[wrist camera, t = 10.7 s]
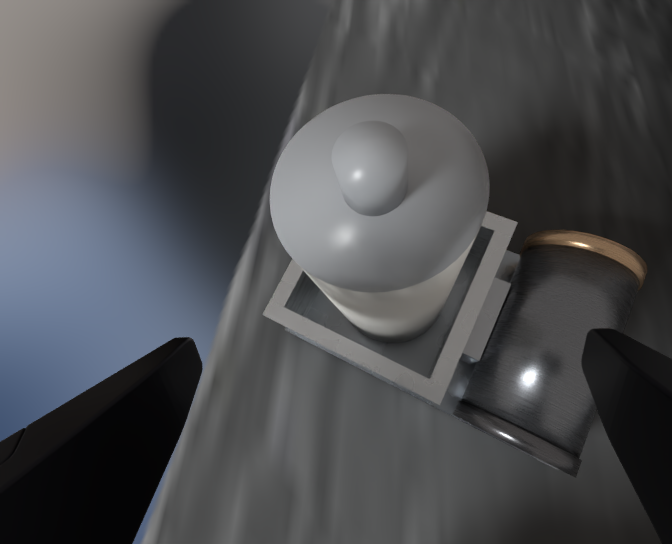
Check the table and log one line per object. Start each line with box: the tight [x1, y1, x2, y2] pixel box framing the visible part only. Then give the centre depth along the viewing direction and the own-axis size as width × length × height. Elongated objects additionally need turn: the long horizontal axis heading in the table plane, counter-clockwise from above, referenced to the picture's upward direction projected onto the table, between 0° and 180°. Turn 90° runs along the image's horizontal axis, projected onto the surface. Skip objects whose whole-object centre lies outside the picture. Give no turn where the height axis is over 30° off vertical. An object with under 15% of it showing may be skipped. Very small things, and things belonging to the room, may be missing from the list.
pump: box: [270, 94, 490, 343], centre depth 16 cm, size 6×6×14 cm
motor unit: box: [263, 211, 648, 477], centre depth 20 cm, size 10×16×6 cm, turn 63°
